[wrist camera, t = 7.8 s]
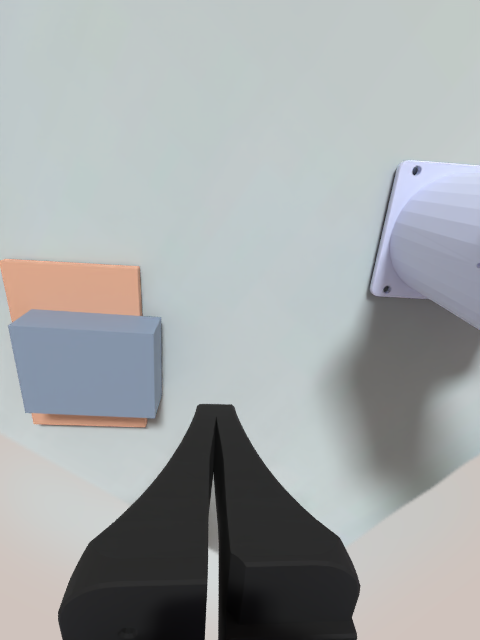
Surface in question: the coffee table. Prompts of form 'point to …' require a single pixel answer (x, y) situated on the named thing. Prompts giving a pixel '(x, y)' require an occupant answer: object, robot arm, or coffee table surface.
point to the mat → (73, 306)
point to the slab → (88, 363)
